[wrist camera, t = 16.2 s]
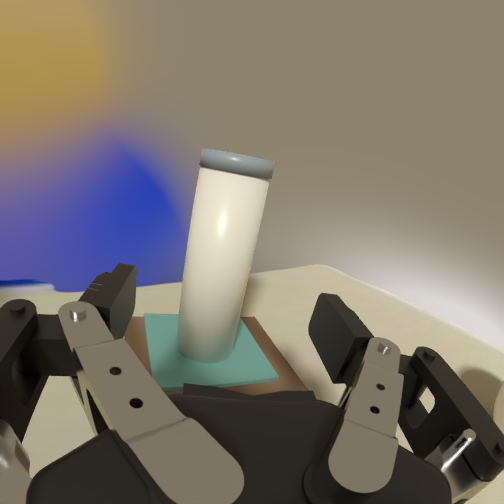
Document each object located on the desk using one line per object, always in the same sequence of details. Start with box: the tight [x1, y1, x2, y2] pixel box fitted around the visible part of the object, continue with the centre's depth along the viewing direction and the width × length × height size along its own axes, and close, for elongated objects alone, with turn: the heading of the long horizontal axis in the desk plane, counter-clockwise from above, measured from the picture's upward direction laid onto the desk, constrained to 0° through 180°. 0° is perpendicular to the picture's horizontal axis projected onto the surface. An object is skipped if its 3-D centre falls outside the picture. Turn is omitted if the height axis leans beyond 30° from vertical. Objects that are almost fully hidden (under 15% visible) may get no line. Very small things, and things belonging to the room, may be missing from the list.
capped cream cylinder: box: [176, 148, 275, 363], centre depth 22 cm, size 5×5×16 cm
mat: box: [144, 314, 279, 391], centre depth 25 cm, size 10×10×1 cm
